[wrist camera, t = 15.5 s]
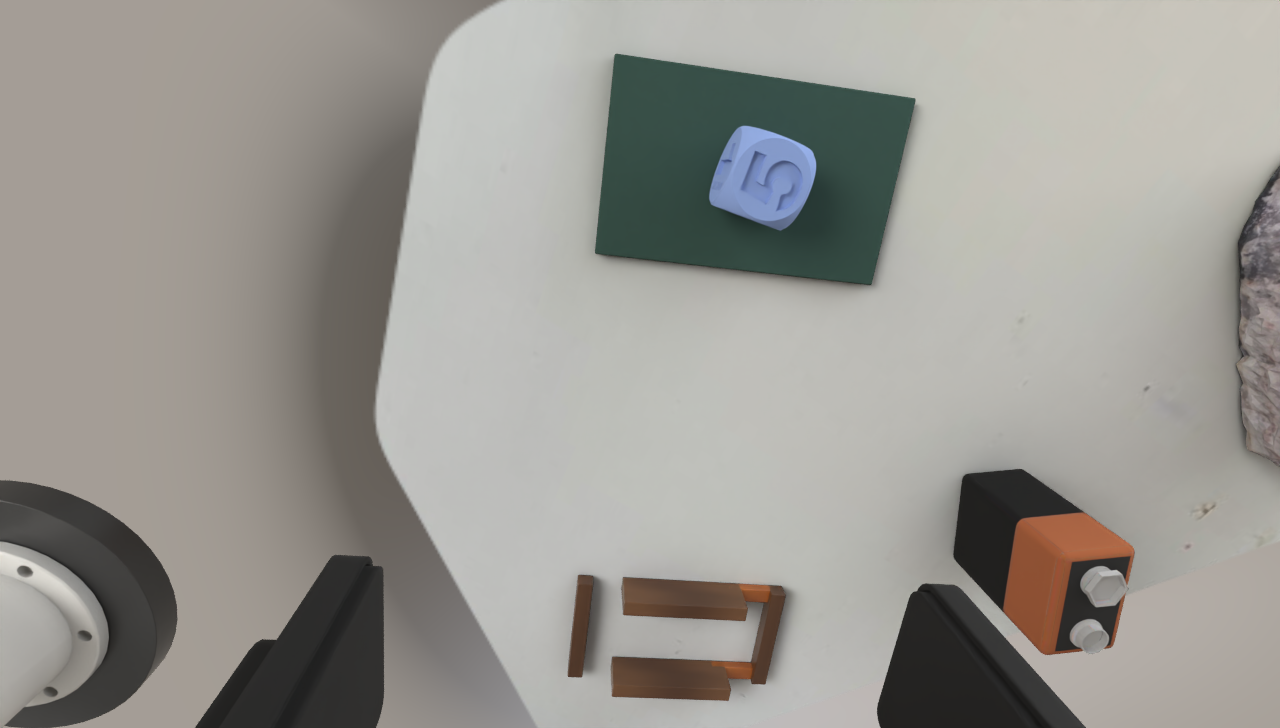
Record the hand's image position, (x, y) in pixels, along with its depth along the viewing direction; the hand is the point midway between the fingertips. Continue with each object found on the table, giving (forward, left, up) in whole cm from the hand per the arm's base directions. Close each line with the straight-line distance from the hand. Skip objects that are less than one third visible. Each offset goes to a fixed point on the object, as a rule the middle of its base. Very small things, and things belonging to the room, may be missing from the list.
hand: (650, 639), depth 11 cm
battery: (+27, -11, -26) cm, 39 cm away
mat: (+7, +8, -26) cm, 28 cm away
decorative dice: (+7, +8, -25) cm, 27 cm away
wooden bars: (+7, -22, -26) cm, 34 cm away
